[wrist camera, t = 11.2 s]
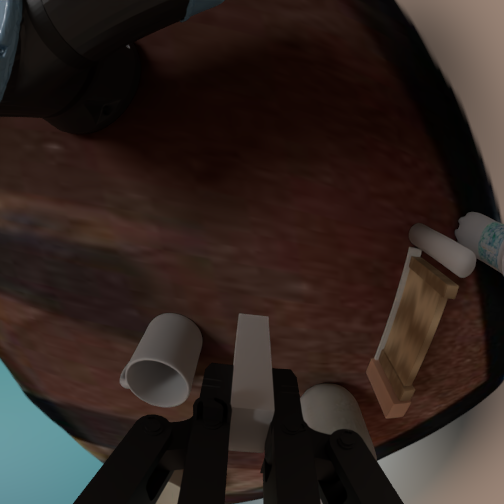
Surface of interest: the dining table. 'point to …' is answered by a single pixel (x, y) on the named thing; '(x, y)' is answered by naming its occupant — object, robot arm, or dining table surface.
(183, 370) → the mug
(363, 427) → the white tapered flask
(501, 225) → the bottle
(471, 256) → the fence
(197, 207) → the dining table surface
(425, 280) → the gate
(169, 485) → the bowl
